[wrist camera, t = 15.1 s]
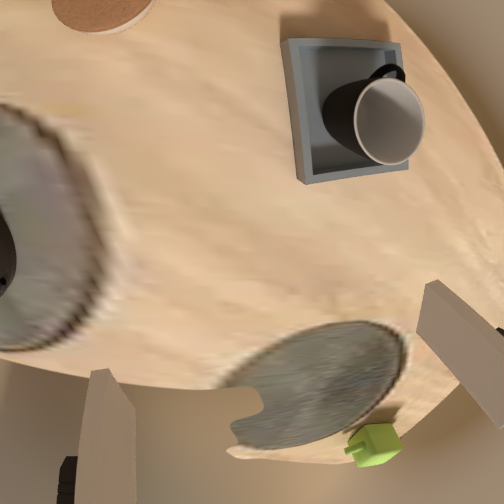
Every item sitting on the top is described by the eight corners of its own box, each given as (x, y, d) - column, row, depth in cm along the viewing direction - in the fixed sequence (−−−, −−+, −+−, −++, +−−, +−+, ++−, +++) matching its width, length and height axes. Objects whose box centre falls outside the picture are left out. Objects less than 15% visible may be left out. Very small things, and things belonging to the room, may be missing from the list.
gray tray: (297, 178, 39) (305, 184, 36) (279, 43, 31) (288, 38, 29) (395, 164, 41) (408, 169, 38) (386, 45, 33) (400, 43, 30)
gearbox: (329, 444, 72) (340, 473, 64) (351, 424, 69) (364, 454, 60) (376, 441, 78) (387, 465, 70) (397, 421, 75) (410, 447, 66)
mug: (356, 161, 39) (402, 181, 30) (299, 128, 36) (337, 137, 27) (393, 86, 35) (446, 88, 26) (341, 47, 32) (388, 36, 23)
